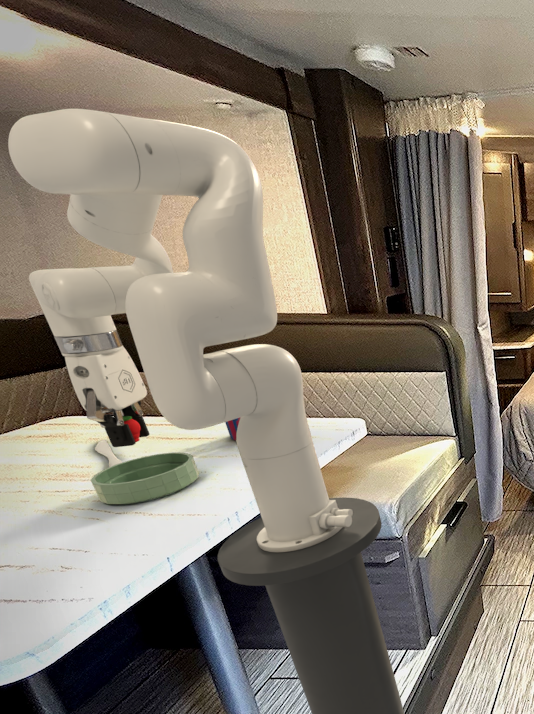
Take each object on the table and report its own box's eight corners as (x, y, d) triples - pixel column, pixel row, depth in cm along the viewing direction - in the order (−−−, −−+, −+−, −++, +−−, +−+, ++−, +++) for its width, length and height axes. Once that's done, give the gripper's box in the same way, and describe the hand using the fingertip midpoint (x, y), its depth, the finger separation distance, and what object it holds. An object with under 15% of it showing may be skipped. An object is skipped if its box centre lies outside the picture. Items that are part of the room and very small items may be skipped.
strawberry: (151, 437, 95) (141, 414, 93) (131, 445, 91) (121, 422, 90) (132, 437, 95) (122, 414, 93) (111, 445, 92) (101, 421, 90)
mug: (266, 428, 127) (258, 403, 124) (259, 441, 118) (250, 414, 116) (234, 433, 124) (225, 407, 121) (224, 447, 115) (214, 419, 113)
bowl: (218, 472, 103) (210, 452, 101) (153, 507, 90) (143, 485, 88) (152, 472, 104) (144, 452, 102) (78, 507, 91) (67, 484, 89)
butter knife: (105, 471, 103) (125, 466, 105) (91, 442, 119) (108, 438, 121) (106, 474, 103) (126, 468, 105) (93, 444, 119) (110, 440, 121)
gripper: (85, 351, 80) (130, 456, 87) (145, 333, 95) (179, 423, 102) (24, 355, 78) (75, 462, 85) (95, 336, 93) (133, 428, 100)
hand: (131, 440), depth 93 cm, fingers closed on strawberry, 3 cm apart
